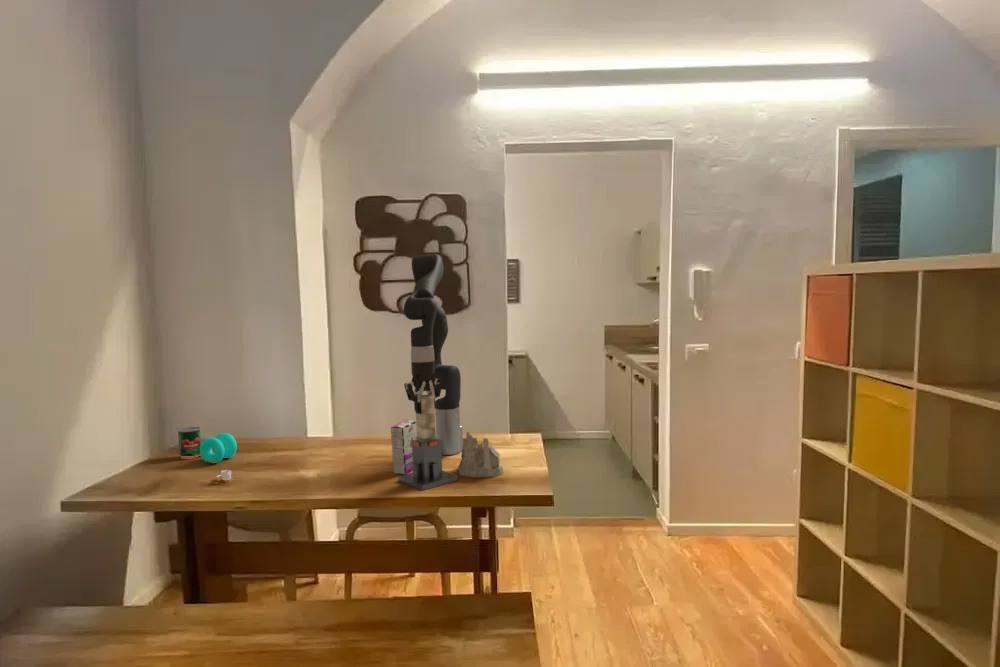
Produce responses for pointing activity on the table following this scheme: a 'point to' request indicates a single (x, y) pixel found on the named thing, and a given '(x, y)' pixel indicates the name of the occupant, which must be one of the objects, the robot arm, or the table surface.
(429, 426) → the post
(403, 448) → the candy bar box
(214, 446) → the donuts
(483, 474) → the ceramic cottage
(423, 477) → the stand
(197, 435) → the canned tomato
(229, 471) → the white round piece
